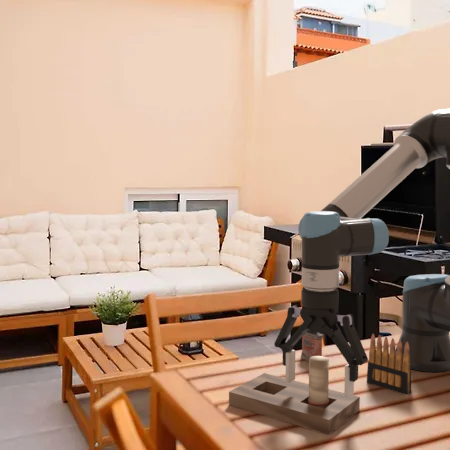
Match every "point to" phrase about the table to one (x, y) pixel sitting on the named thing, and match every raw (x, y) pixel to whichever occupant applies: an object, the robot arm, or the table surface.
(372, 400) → the table surface
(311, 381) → the birch dowel
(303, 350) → the lighter
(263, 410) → the walnut board
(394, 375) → the ammunition clip
